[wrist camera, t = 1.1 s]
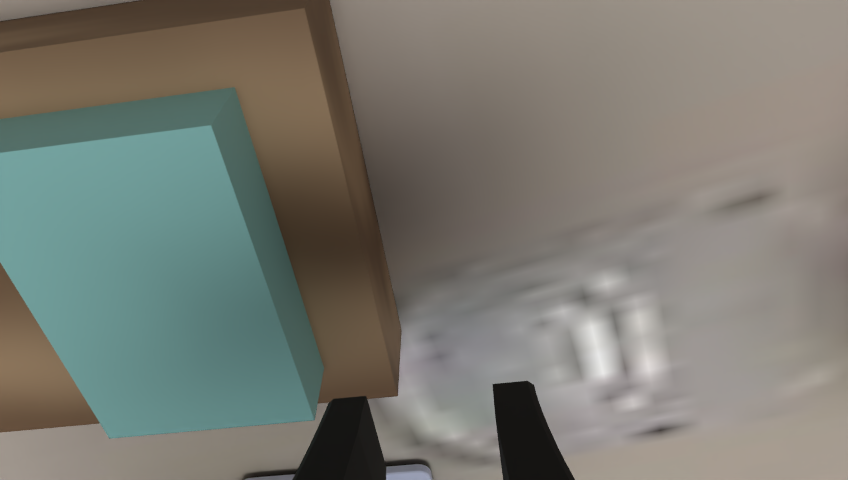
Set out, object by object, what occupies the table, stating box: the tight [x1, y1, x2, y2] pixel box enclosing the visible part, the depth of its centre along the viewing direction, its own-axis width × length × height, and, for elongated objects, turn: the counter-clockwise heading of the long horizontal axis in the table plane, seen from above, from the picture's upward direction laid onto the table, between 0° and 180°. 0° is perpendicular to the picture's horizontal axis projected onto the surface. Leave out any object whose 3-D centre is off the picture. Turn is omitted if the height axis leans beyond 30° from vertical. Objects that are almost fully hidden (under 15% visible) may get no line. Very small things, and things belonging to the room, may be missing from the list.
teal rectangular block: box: [0, 87, 324, 439], centre depth 17 cm, size 9×6×2 cm, turn 8°
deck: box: [0, 0, 401, 432], centre depth 20 cm, size 12×14×3 cm
